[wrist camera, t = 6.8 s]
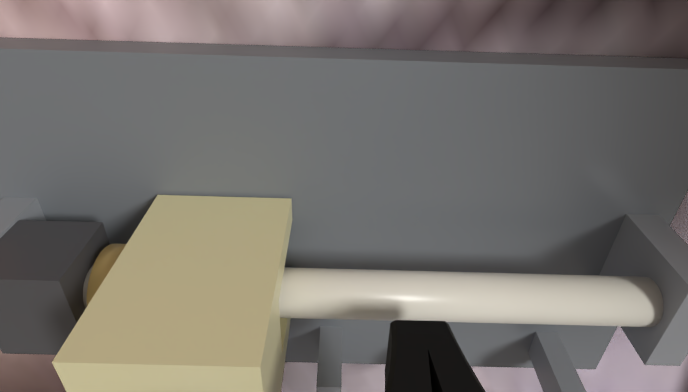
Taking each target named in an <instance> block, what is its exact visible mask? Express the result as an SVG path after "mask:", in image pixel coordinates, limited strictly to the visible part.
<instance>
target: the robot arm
mask: <svg viewBox="0 0 688 392" xmlns="http://www.w3.org/2000/svg"><path fill="white" fill-rule="evenodd" d="M385 392H485V390H484V389H483V387H482V385H481V384H480V382H479V380H478V379H477V377H476V375H475V373H474V372H473V370H472V368H471V366H470V365H469V363H468V361H467V359H466V357H465V356H464V354H463V352H462V350H461V348H460V346H459V344H458V342H457V340H456V338H455V336H454V334H453V332H452V330H451V328H450V326H449V324H448V323H447V322H446V321H419V320H395V321H393V322H391V323H390V330H389V339H388V348H387V357H386V366H385Z"/></svg>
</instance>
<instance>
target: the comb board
mask: <svg viewBox="0 0 688 392" xmlns="http://www.w3.org/2000/svg"><path fill="white" fill-rule="evenodd" d="M687 191H688V58H659V57H626V56H593V55H560V54H527V53H494V52H462V51H429V50H396V49H363V48H330V47H297V46H265V45H232V44H199V43H166V42H133V41H100V40H67V39H35V38H2V37H0V350H1V351H2V353H10V354H52V355H57V353H58V352H59V350H60V349H61V347H62V345H63V344H64V342H65V341H66V339H67V338H68V336H69V334H70V333H71V331H72V330H73V328H74V326H75V325H76V323H77V322H78V320H79V319H80V317H81V315H82V314H83V312H84V311H85V309H86V307H87V306H88V304H89V303H90V301H91V300H92V298H93V296H94V295H95V293H96V292H97V290H98V288H99V287H100V285H101V284H102V282H103V281H104V279H105V277H106V276H107V274H108V273H109V271H110V269H111V268H112V266H113V265H114V263H115V262H116V260H117V258H118V257H119V255H120V254H121V252H122V250H123V249H124V247H125V246H126V244H127V243H128V241H129V239H130V238H131V236H132V235H133V233H134V231H135V230H136V228H137V227H138V225H139V224H140V222H141V220H142V219H143V217H144V216H145V214H146V212H147V211H148V209H149V208H150V206H151V205H152V203H153V201H154V200H155V198H156V197H157V195H182V196H219V197H255V198H292V225H291V231H290V237H289V243H288V249H287V255H286V261H285V267H284V273H283V279H282V284H281V290H280V296H279V313H280V318H291V320H290V328H289V335H288V343H287V350H286V358H285V362H314V363H318V372H317V392H341V369H342V363H356V364H386V357H387V348H388V339H389V330H390V323H391V322H393V321H395V320H419V321H446V322H447V323H448V324H449V326H450V328H451V330H452V332H453V334H454V336H455V338H456V340H457V342H458V344H459V346H460V348H461V350H462V352H463V354H464V356H465V357H466V359H467V361H468V363H469V365H470V366H481V367H523V368H534V369H535V371H536V374H537V376H538V379H539V382H540V384H541V387H542V389H543V392H586V390H585V388H584V386H583V384H582V382H581V380H580V378H579V376H578V374H577V372H576V370H575V369H596V367H597V365H598V363H599V361H600V359H601V357H602V355H603V354H604V352H605V350H606V348H607V346H608V344H609V342H610V340H611V338H612V336H613V334H614V332H615V330H616V328H617V326H621V328H622V329H623V331H624V333H625V334H626V336H627V337H628V339H629V341H630V342H631V344H632V345H633V347H634V348H635V350H636V352H637V353H638V355H639V356H640V358H641V360H642V361H643V363H644V364H645V365H667V366H680V365H681V363H682V362H683V360H684V359H685V357H686V356H687V354H688V245H687V243H686V242H685V241H684V240H683V239H682V238H681V237H680V236H679V235H678V234H677V233H676V232H675V231H674V230H673V229H672V228H671V227H670V224H671V222H672V220H673V218H674V216H675V214H676V212H677V210H678V208H679V206H680V204H681V202H682V201H683V199H684V197H685V195H686V193H687Z"/></svg>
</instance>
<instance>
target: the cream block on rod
mask: <svg viewBox="0 0 688 392" xmlns="http://www.w3.org/2000/svg"><path fill="white" fill-rule="evenodd" d="M291 225H292V198H255V197H219V196H182V195H157V197H156V198H155V200H154V201H153V203H152V205H151V206H150V208H149V209H148V211H147V212H146V214H145V216H144V217H143V219H142V220H141V222H140V224H139V225H138V227H137V228H136V230H135V231H134V233H133V235H132V236H131V238H130V239H129V241H128V243H127V244H126V246H125V247H124V249H123V250H122V252H121V254H120V255H119V257H118V258H117V260H116V262H115V263H114V265H113V266H112V268H111V269H110V271H109V273H108V274H107V276H106V277H105V279H104V281H103V282H102V284H101V285H100V287H99V288H98V290H97V292H96V293H95V295H94V296H93V298H92V300H91V301H90V303H89V304H88V306H87V307H86V309H85V311H84V312H83V314H82V315H81V317H80V319H79V320H78V322H77V323H76V325H75V326H74V328H73V330H72V331H71V333H70V334H69V336H68V338H67V339H66V341H65V342H64V344H63V345H62V347H61V349H60V350H59V352H58V353H57V355H56V357H55V358H54V360H53V361H52V364H53V366H54V368H55V370H56V372H57V374H58V376H59V378H60V380H61V382H62V384H63V386H64V388H65V390H66V392H281V388H282V380H283V373H284V365H285V358H286V350H287V343H288V335H289V328H290V320H291V318H280V313H279V296H280V290H281V284H282V279H283V273H284V267H285V261H286V255H287V249H288V243H289V237H290V231H291Z"/></svg>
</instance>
